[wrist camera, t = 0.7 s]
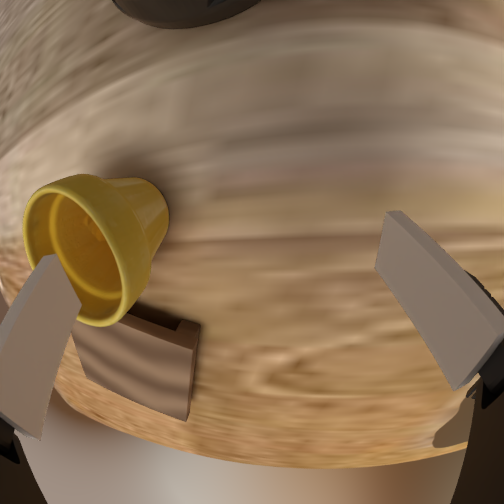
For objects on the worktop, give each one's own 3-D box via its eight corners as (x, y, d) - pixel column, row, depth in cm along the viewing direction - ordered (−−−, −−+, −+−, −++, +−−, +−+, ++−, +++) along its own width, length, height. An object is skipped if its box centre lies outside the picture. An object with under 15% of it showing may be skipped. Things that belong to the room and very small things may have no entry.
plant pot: (90, 238, 26) (26, 286, 17) (104, 142, 21) (19, 166, 12) (173, 280, 26) (123, 351, 18) (204, 181, 21) (140, 225, 13)
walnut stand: (81, 277, 29) (61, 295, 25) (205, 323, 28) (192, 350, 24) (99, 360, 36) (86, 378, 33) (194, 399, 35) (186, 421, 32)
